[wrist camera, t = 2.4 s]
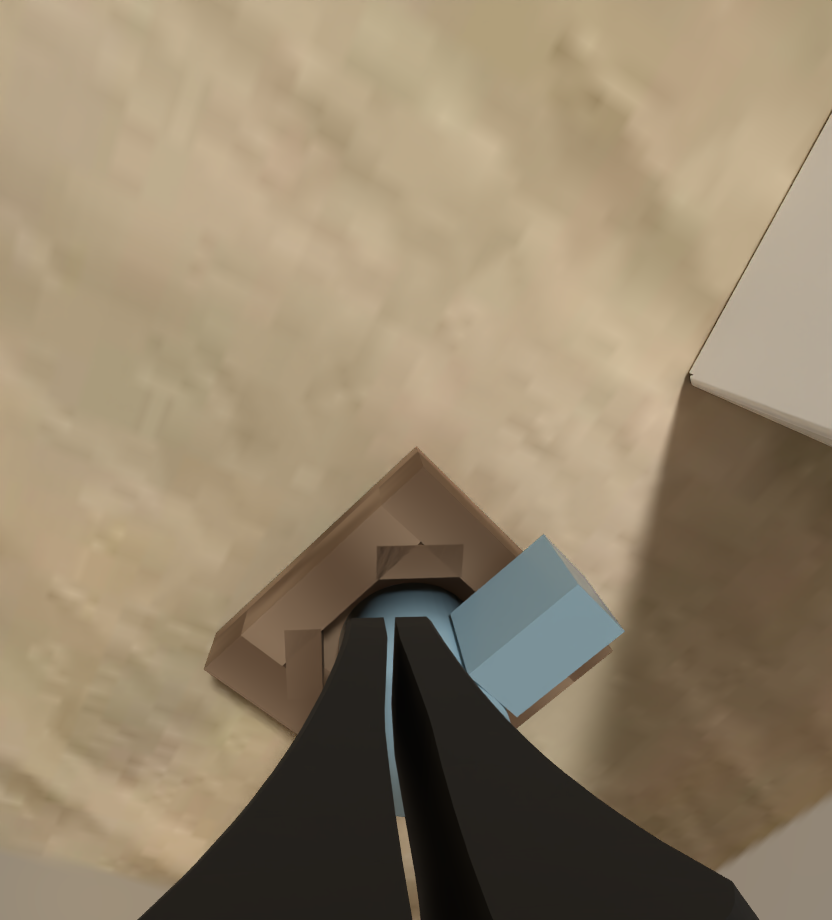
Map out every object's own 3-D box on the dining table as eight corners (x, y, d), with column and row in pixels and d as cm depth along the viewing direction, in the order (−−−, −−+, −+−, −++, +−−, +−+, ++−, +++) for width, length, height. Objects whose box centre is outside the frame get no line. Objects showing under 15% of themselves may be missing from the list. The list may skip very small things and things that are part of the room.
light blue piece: (406, 723, 23) (420, 843, 18) (308, 647, 22) (297, 758, 17) (588, 572, 22) (654, 661, 17) (498, 479, 20) (544, 549, 15)
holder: (405, 770, 25) (410, 813, 23) (216, 632, 21) (203, 669, 20) (591, 618, 23) (612, 651, 21) (416, 446, 20) (423, 466, 18)
